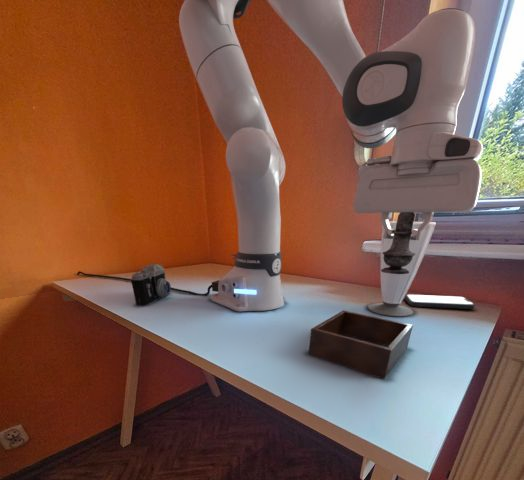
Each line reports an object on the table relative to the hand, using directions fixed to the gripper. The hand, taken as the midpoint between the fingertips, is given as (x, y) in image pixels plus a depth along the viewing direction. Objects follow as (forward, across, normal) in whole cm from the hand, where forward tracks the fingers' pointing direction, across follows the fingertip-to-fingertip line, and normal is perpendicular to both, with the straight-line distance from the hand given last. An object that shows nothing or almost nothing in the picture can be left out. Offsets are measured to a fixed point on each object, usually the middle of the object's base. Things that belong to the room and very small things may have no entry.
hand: (401, 239), depth 53 cm
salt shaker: (+6, 0, 0) cm, 6 cm away
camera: (+19, -61, -18) cm, 66 cm away
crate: (+19, 0, -14) cm, 24 cm away
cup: (+19, -3, +16) cm, 25 cm away
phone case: (+19, +6, +30) cm, 36 cm away
